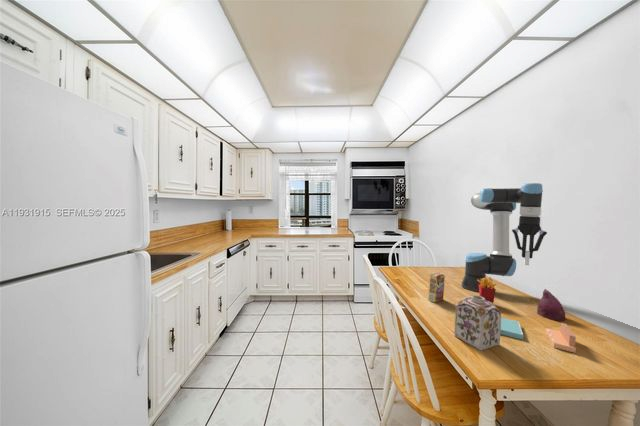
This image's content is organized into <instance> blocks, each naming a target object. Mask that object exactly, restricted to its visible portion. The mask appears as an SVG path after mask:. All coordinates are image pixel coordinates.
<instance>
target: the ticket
mask: <svg viewBox="0 0 640 426" xmlns="http://www.w3.org/2000/svg"><path fill="white" fill-rule="evenodd" d="M500 335H502V336H507V337H511V338H515V339H517V340H523V341H524V332H523V330H522V327H521V325H520V322H519V321H518V320H514V319H510V318H504V317H501V331H500Z"/></svg>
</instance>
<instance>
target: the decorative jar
mask: <svg viewBox="0 0 640 426" xmlns="http://www.w3.org/2000/svg"><path fill="white" fill-rule="evenodd" d="M501 318H502V312H501V310H500V309H498V307H497V306H496V304H494V302H493V303H491V302H489V301H486V300H485V298H483V297H481V296H479V295H471V296H466V297H462V298H460V300H459V301H458V302H457V303H456V304H455V315H454V332H453V333H454V337H456V338H458V339H459V340H460V341H463V342H465V343H466V344H468V345H470V346H472V347H474V348H475V349H477V350H479V351H481V352H482V351H485V350H487V349H490V348H493V347H495V346H500V342H501V334H500V331H501Z"/></svg>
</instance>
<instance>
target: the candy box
mask: <svg viewBox="0 0 640 426" xmlns="http://www.w3.org/2000/svg"><path fill="white" fill-rule="evenodd" d="M445 276H446V274H445V273H442V272H436V273H432V274H430V275H429V289H428V301H430V302H433V303H437V302H440V301H442V300H444V293H445V278H446V277H445Z"/></svg>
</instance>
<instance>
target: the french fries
mask: <svg viewBox="0 0 640 426" xmlns="http://www.w3.org/2000/svg"><path fill="white" fill-rule="evenodd" d="M480 280H481V281H480ZM480 280H478V279H477V281H478V282H479V283H480V284H479V292H478V293H479V294H478V296H481V297H483V298H485V300H486V301H489V302H491V303H493V304H494V301H495V296H496V288H495V286H496V285H497V283H496V282H494V281H493V279H492V278H491V277H490V276H489V277H488V278H487V277H485V278H482V279H480ZM484 283H485V284H484Z"/></svg>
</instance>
